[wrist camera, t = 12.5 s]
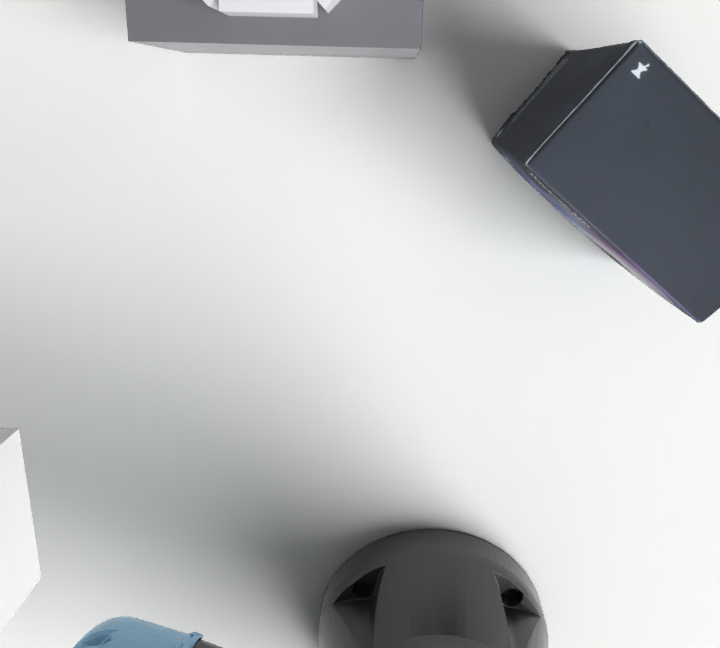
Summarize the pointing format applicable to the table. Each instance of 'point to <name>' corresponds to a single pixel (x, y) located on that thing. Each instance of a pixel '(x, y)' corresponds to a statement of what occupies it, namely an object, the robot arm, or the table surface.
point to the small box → (628, 166)
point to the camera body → (280, 26)
